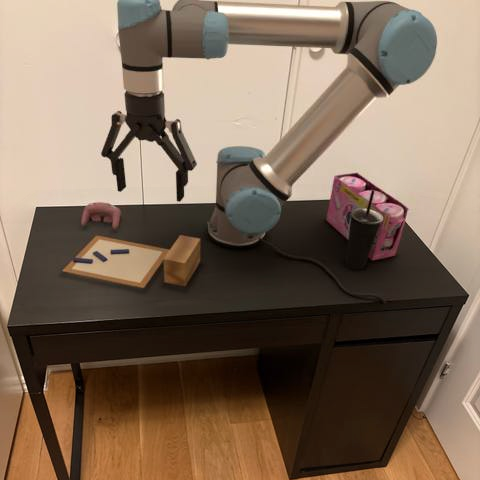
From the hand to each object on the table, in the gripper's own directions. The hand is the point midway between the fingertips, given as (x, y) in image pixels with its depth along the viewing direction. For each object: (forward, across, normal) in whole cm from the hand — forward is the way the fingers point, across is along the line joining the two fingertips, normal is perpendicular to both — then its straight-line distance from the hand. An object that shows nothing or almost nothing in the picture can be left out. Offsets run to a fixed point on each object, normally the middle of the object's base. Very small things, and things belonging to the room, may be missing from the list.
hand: (151, 194), depth 111 cm
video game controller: (+18, +20, -13) cm, 30 cm away
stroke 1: (+17, +16, +6) cm, 24 cm away
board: (+18, +8, +2) cm, 20 cm away
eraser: (+18, -8, +2) cm, 20 cm away
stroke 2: (+17, +13, +3) cm, 22 cm away
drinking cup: (+19, -47, -17) cm, 53 cm away
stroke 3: (+17, +9, 0) cm, 20 cm away
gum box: (+19, -47, -31) cm, 59 cm away
